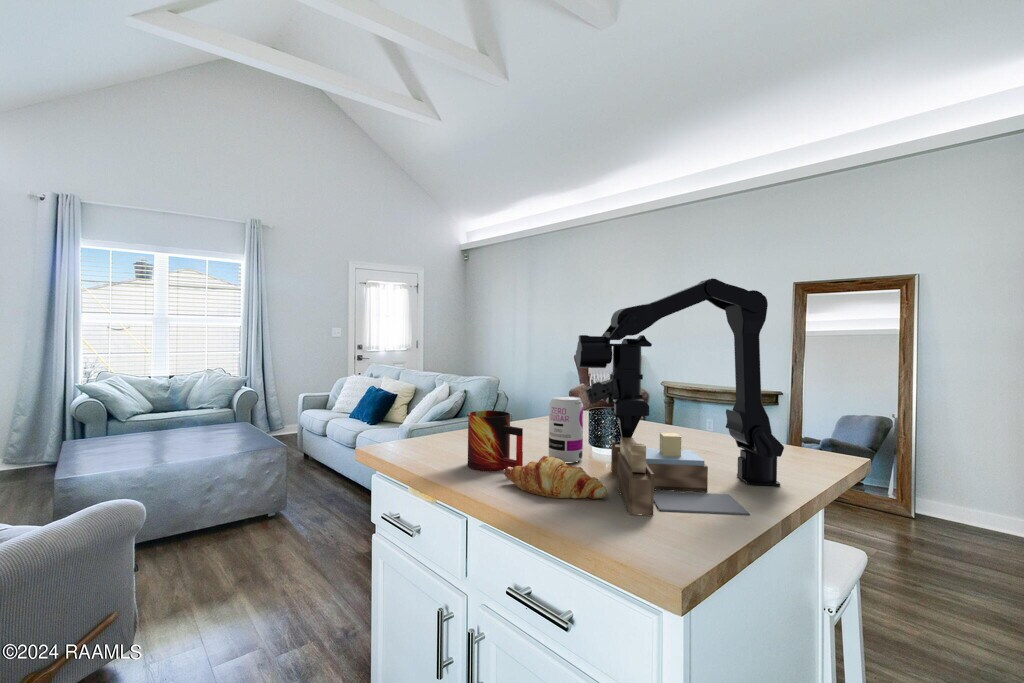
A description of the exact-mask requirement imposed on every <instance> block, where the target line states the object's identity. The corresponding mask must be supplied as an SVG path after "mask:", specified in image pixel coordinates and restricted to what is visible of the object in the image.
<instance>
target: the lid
mask: <svg viewBox="0 0 1024 683" xmlns="http://www.w3.org/2000/svg"><path fill="white" fill-rule="evenodd" d="M620 453H621V452H620ZM646 464H668V465H695V466H704V464H705V460H704V459H703V458H702V457H701V456H700V455H699V454H697V453H696V452H694V451H693V449H682V436H681V435H680V434H679V433H677V432H676V433H675V432H659V448H649V447H648V448H647V447H646Z"/></svg>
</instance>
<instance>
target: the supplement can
mask: <svg viewBox="0 0 1024 683" xmlns="http://www.w3.org/2000/svg"><path fill="white" fill-rule="evenodd" d="M548 410H549V411H548V412H549V413H548V457H554V458H558V459H560V460H562V461H564V462H576V461H579V460H580V461H581V460H582V459H583V455H584V454H583V452H584V451H583V449H584V448H583V446H584V445H583V442H584V436H583V435H584V431H583V430H584V404H583V401H582V399H581V397H577V396H568V395H567V396H565V395H564V396H563V395H562V396H561V395H560V396H553V397H551V400H550V402H549V404H548ZM580 461H579V462H580Z"/></svg>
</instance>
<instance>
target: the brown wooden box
mask: <svg viewBox="0 0 1024 683" xmlns="http://www.w3.org/2000/svg"><path fill="white" fill-rule="evenodd" d="M610 456H611V459H610V460H611V462H610V464H611V466H610V468H611V469H610V470H611V471H612V472H611V473H612V475H617V478H618V484H617V488H619V489H618V491H619V493H621V494H620V496H621V498H623V499H622V501H623V500H624V501H623V504H624V503H625V504H624V506H625V505H626V506H625V509H626V508H627V509H626V511H627V510H628V511H627V513H628V515H629V514H642V515H641V516H647V515H653V516H654V504H655V503H654V491H664V490H674V491H673V492H687V491H693V492H692V493H708V481H709V480H708V479H709V478H708V474H709V472H708V470H709V466H708V465H706V463H704V466H695V465H668V464H646V473H640V472H632V471H631V469H630V468H629V466H628V464H627V462H626V460H625V459H624V457H623V455H622V453H620V444H616V441H615V440H614V439H611V455H610ZM654 489H656V490H654Z"/></svg>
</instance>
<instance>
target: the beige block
mask: <svg viewBox="0 0 1024 683" xmlns="http://www.w3.org/2000/svg"><path fill="white" fill-rule="evenodd" d="M619 445H620V452H621V453H622V455H623V457H624V459H625V460H626V462H627V464H628V466H629V468H630V469H631V471H632V472H640V473H646V448H647V446H646V444H645V443H637V442H636V441H635V438H633V437H632V438H629V437H622V436H620V442H619Z"/></svg>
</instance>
